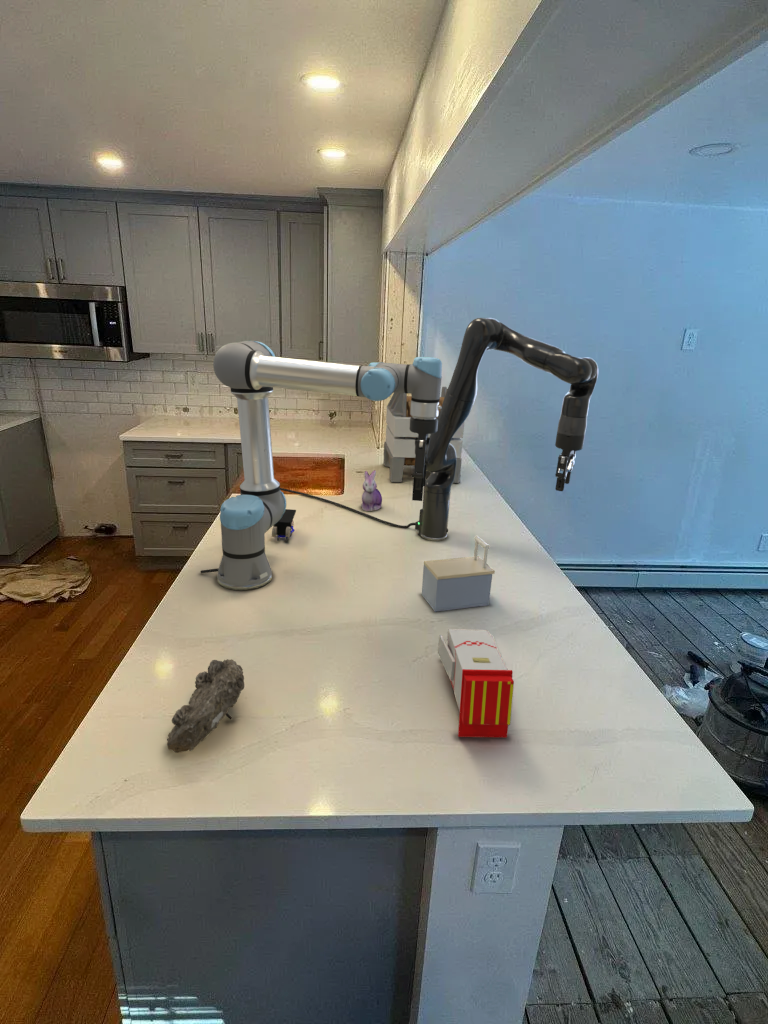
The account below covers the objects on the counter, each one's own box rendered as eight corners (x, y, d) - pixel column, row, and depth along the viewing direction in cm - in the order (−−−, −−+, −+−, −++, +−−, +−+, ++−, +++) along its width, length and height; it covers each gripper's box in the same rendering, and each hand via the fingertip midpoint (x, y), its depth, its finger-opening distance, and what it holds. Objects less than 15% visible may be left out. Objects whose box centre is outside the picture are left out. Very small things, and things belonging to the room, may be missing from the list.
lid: (478, 558, 160) (481, 533, 157) (494, 573, 151) (497, 546, 148) (423, 563, 155) (425, 537, 152) (437, 579, 146) (439, 551, 144)
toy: (488, 613, 130) (523, 677, 101) (484, 667, 133) (517, 744, 104) (435, 612, 130) (455, 676, 101) (432, 666, 133) (451, 743, 103)
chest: (473, 588, 163) (476, 559, 160) (488, 605, 154) (492, 574, 151) (421, 594, 158) (423, 564, 155) (434, 611, 149) (437, 579, 146)
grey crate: (382, 463, 289) (386, 382, 275) (445, 464, 293) (451, 384, 279) (390, 482, 257) (394, 392, 243) (460, 483, 261) (468, 394, 247)
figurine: (366, 513, 218) (367, 475, 213) (355, 505, 226) (356, 468, 221) (387, 510, 222) (389, 473, 217) (376, 502, 231) (377, 466, 226)
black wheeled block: (291, 547, 188) (297, 526, 201) (290, 527, 184) (296, 507, 198) (271, 547, 187) (278, 525, 201) (270, 526, 184) (277, 506, 197)
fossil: (192, 660, 117) (244, 628, 112) (224, 691, 120) (276, 661, 115) (142, 746, 98) (202, 712, 93) (182, 779, 101) (242, 748, 96)
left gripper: (436, 427, 139) (430, 508, 147) (439, 410, 163) (434, 481, 170) (406, 425, 140) (401, 505, 147) (413, 408, 163) (409, 479, 171)
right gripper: (562, 425, 166) (554, 478, 171) (552, 433, 154) (543, 490, 159) (589, 429, 162) (579, 483, 168) (580, 437, 150) (571, 495, 156)
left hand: (418, 492), depth 159 cm, fingers open, 13 cm apart
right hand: (562, 486), depth 164 cm, fingers open, 8 cm apart
